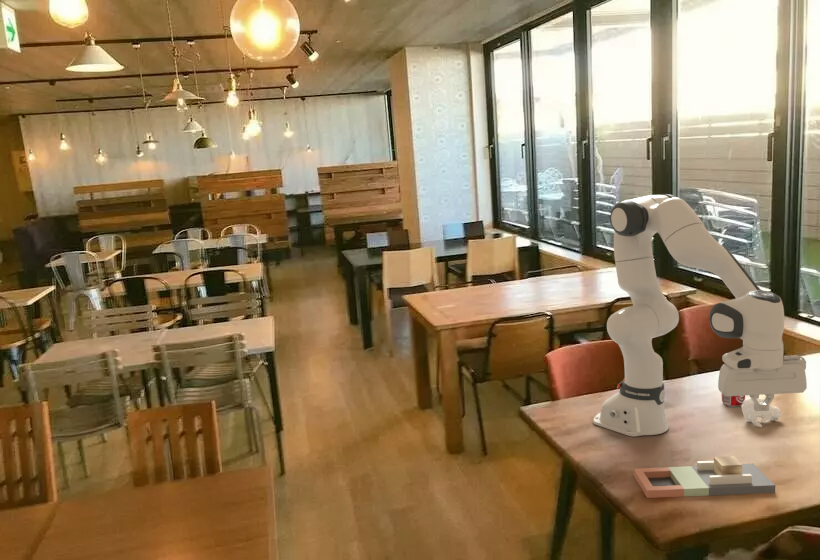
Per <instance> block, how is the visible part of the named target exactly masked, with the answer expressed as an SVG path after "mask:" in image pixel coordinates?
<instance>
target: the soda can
mask: <svg viewBox="0 0 820 560" xmlns="http://www.w3.org/2000/svg"><path fill="white" fill-rule="evenodd" d="M745 399H746V395H745V396H725V395H724V394H722V393H721V402H722V403H723V404H724V405H725V406H727V407H731V408H740V407H741V406H742V404H743V402H744V400H745Z"/></svg>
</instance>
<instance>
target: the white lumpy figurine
mask: <svg viewBox="0 0 820 560" xmlns="http://www.w3.org/2000/svg"><path fill="white" fill-rule="evenodd" d="M764 400H765V399H763V398H761V397H759V399H757V401H758V402H763V401H764ZM740 407H741V410H742V414H743V418H744V420H745V421H746V422H747V423H751V422H752V424H753V425H754V427H757V428H762V427H763V425H762V423H766V422H767V421H768V420H770V421H772V422H778V420H779V419H780V417H781V416H782V411H781V409H780V408H779V407H777V406H775V405H771V403H770V404H769V411H755V410H754V402H753V401H752V399H751V398H750V397H748V398H745V400H744V402H743V404H742V405H741V406H740ZM757 418H760V419H761V423H760V422H759V421H757Z"/></svg>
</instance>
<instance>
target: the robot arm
mask: <svg viewBox="0 0 820 560" xmlns="http://www.w3.org/2000/svg"><path fill="white" fill-rule="evenodd" d="M609 220H610V225H611V228H612V230H613V231H614V234H613V256H614V263H615V269H616V277H617V283H618V286H619V288H620V289H621V290H623V291H624V292H626V293H627V294H628V296H629V298H630V299H631V302H632V305H631V306H627V307H622V308H620V309H619V310H617V311H615V312H614V313H612V314H610V316H609V317H608V319H607V321H606V329H607V330H606V331H607V333H608V336H609V337H610V339H611V340H612V341H613V342H615V343H616V344H617V345H618V347H619V349H620V351H621V354H622V356H623V364H624V367H623V368H624V378H623V380H622V381H620V382H619V383H618V384H617V385H616V386H617V387H616V389H617V390H619V391H618V392H616V393H614V394H613V395H612V396H610V397H608V398H607V399H606V400H605V401H604V402H603V403H602V405H601V409H600V412H598V413H597V414H596V415H594V416H593V419H592V422H593V424H594V425H595V426H599V427H601V428H604V429H607V430H610V431H614V432H617V433H619V434H622V435H626V436H628V437H641V436H654V435H659V434H660V435H661V434H664V433H666V432H667V431H668V430H669V424H668V421H667V417H666V413H665V403H664V402H665V397H666V396H665V395H666V394H665V393H666V392H665V383H664V378H663V377H664V376H663V375H664V374H663V373H664V372H663V371H664V368H663V367H664V366H663V365H664V362H663V361H664V360H663V358H662V357H661V356H660V354H658V353H657V352H655V350H654V348H653V343H652V341H653V338H657V337H661V336H665V335H666V334H668V333H670V332H671V331H672V330H674V329H675V328H676V327H677V326H678V324H679V321H680V315H679V314H680V313H679V310H678V309H677V306H675V305H674V304H673V303H672V302H670V301H669V300H668V299H667V297H666V296H665V295H664V292H663V291H662V289H661V287H660V283H659V281H658V277H657V273H656V267H655V261H654V260H655V259H654V254H653V247H652V239H653V236H655V234H658V235H659V237H660V238H661V240H662V242H663V244H664V246H665V247H666V249H667V251H668V253H669V254H670V255H671V257H672V258H673V259H674V260H675V261H676V262H677V263H678V264H680V265H683V266H684V267H689V268H694V269H698V270H703V271H706V272H710V273H712V274H714V275H716V276H717V277H718V278H719V279H720V280H722V281H723V283H724V284H725V286H726V287H727V289H729V291H730V292H731V294H732V295H733V296H734V297H735V298H732V299H729V300H724V301H720V302H718V303H715V304H713V306H712V307H711V309H710V310H709V315H708V319H709V320H708V321H709V325H710V328H711V330H712V331H713V332H714V334H715V335H717V336H718V337H720V338H724V339H740V340H742V346H741V347H740V348H738V349H735V350H732V351H729V352H726V353H724V354H723V355H722V356H721V357H722V359H721V360H722V362H724V364H722V365H721V367H720V369H719V374H718V379H717V380H718V381H717V384H718V385H717V388H718V391H719V392H720V393H721V395H722V394H724V395H725V396H745V397H746V396H749V398H751V399H752V401H753V402H754V410H755V411H769V404H770V405H771V404H772V402H773V401H774V399H775V395H782V394H783V395H784V394H800V393H804V392H805V391H806V390H807V389H808V387H807V386H808V385H807V383H808V382H807V376H806V370H807V369H806V368H807V361H806V359H805V358H804V357H803V356H801V355H798V354H797V355H795V354H794V355H784V342H783V333H784V332H785V309H784V308H785V307H784V304H783V300H782V298H781V297H780V296H779V295H777V294H776V293H774V292H772V291H769V290H762V289H761V288H760V287H759V286H758V284H756V282H755V281H754V280H753V279H752V278H751V276H750V275H749V273H748V272H747V271H746V269H744V267H743V266H742V264H741V263H740V262H739V261H738V259H736V257H735V255H733V254H732V252H731V251H730V250H728V249H727V248H726V247H725V246H723V245H722V244H721V243H720V242H718V240H716V239H715V237H713V235H712V234H711V233H710V231H708V229H707V228H706V226H705V225H704V223H703V222H702V220H701V219H700V217H699V216H698V214H697V213H696V212H695V211H694V209H693V208H692V207H691V206H690V205H689V203H688V202H686V201H685V199H682V198H680V197H677V196H676V195H674V194H667V193H661V194H648V195H642V196H640V197H635V198H632V199H625V200H622V201H620V202H618V203H616V204H614V206H612V209H611V211H610V215H609ZM760 395H761V396H763V395H764V396H765V398H764V399H763V400H764V401H763V402H758V401H757V399H759V398H760Z"/></svg>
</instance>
